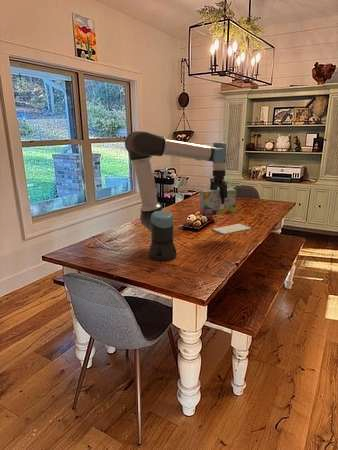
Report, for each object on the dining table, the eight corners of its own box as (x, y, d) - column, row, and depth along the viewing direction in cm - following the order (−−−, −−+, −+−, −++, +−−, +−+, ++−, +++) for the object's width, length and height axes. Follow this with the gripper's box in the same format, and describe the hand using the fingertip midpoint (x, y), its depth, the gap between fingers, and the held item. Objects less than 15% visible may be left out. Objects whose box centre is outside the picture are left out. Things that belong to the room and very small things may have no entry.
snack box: (203, 216, 187) (203, 191, 183) (199, 214, 193) (199, 190, 188) (235, 213, 193) (236, 189, 189) (231, 211, 198) (232, 187, 194)
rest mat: (252, 228, 215) (252, 227, 215) (222, 234, 203) (222, 233, 203) (240, 224, 225) (240, 223, 225) (210, 229, 213) (210, 228, 213)
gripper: (235, 170, 178) (233, 210, 185) (214, 167, 195) (213, 203, 201) (224, 171, 175) (223, 212, 182) (204, 168, 191) (203, 205, 198)
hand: (217, 207), depth 192 cm, fingers closed on snack box, 6 cm apart
